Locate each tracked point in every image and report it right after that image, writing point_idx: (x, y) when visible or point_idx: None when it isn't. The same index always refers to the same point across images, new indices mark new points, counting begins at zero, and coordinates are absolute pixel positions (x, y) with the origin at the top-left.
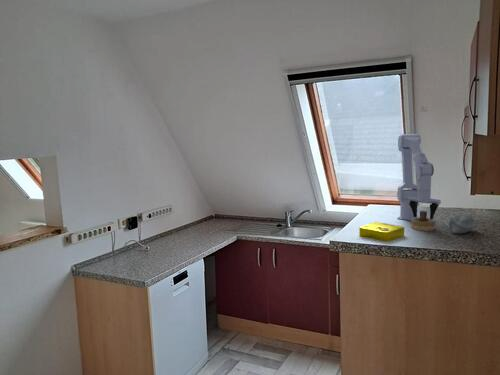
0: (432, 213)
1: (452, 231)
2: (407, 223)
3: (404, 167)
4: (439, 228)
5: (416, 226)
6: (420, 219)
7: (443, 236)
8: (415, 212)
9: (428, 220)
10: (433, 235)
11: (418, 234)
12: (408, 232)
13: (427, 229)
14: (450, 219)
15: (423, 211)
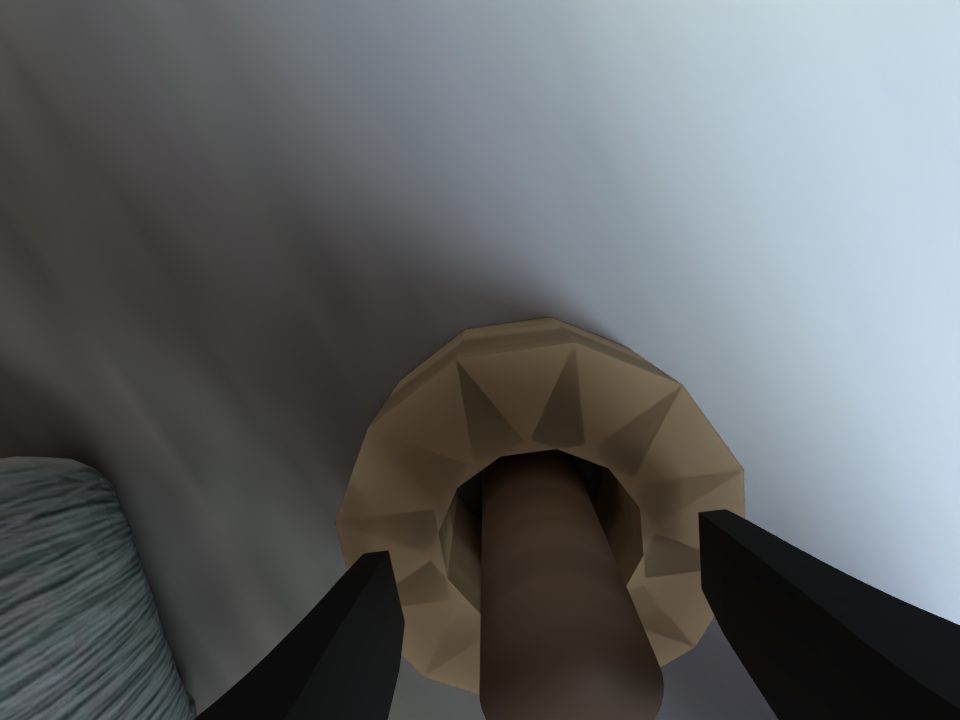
0: (276, 648)
1: (86, 466)
2: None
3: None
4: None
5: (553, 326)
6: (568, 496)
7: (74, 224)
8: (765, 616)
9: None
10: (192, 175)
11: (369, 60)
12: (550, 66)
13: (402, 379)
14: (5, 647)
15: (578, 710)
